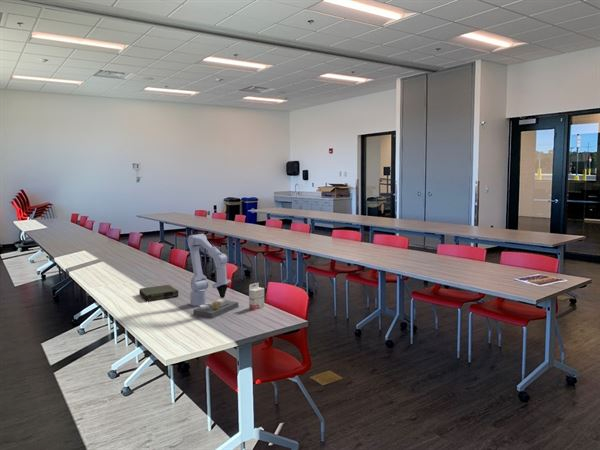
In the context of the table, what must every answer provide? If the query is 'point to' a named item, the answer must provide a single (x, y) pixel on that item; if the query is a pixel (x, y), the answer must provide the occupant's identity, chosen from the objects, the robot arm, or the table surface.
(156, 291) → the network switch
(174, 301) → the table surface
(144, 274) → the table surface
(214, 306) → the brass slider
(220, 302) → the ivory button
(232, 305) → the control panel
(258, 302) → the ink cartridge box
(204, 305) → the grey button
